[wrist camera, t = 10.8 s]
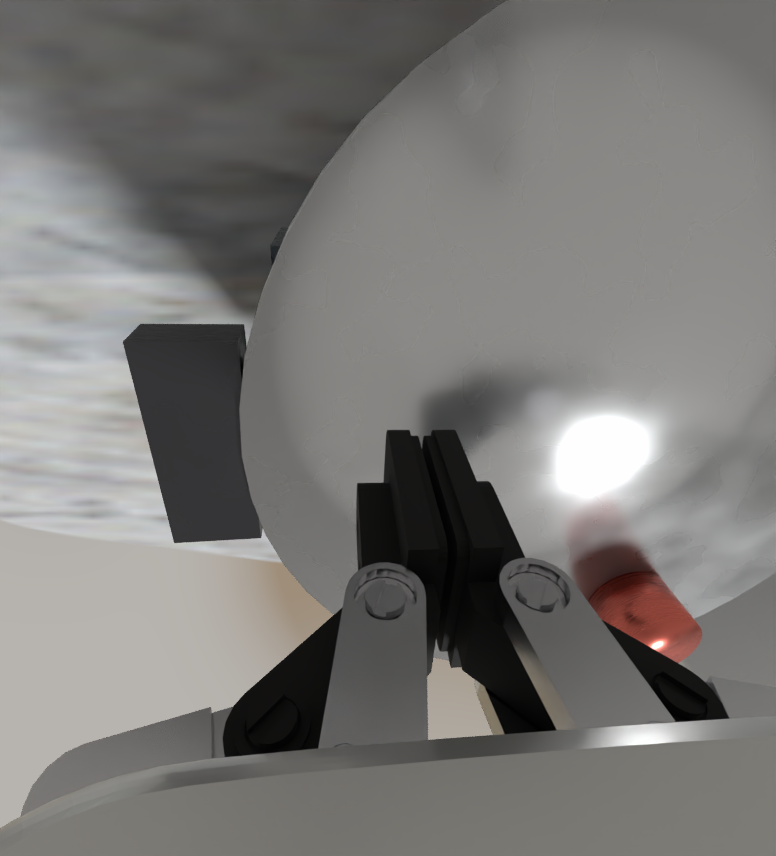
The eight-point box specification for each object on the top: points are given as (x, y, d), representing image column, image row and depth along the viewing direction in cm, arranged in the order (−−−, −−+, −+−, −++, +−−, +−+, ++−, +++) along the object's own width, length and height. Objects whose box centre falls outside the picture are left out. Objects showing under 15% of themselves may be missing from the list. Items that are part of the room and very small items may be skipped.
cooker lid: (1145, 9, 11) (1464, -44, 8) (741, 609, 21) (810, 683, 18) (37, -137, 7) (-148, -326, 4) (218, 657, 18) (200, 757, 15)
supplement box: (608, 574, 38) (746, 787, 26) (573, 507, 34) (719, 724, 21) (716, 525, 37) (923, 727, 24) (695, 447, 32) (933, 644, 19)
